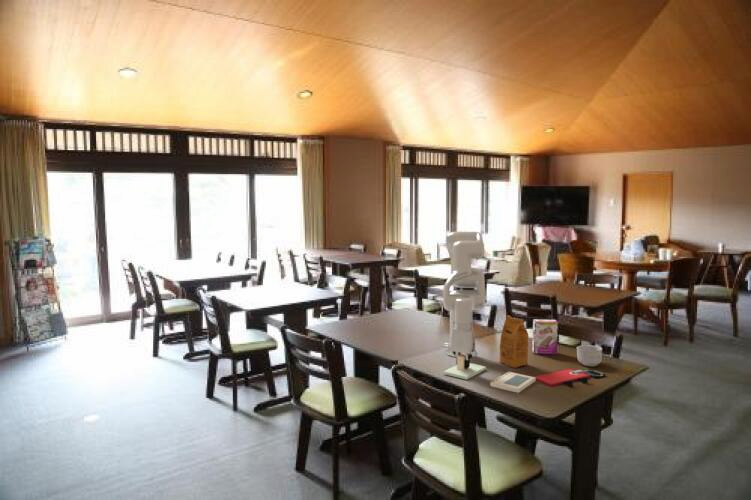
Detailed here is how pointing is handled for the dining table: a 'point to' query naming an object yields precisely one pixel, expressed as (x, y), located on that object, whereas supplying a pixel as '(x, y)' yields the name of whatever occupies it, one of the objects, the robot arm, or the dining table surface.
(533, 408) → the dining table surface
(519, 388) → the ticket board
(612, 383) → the dining table surface
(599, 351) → the teacup
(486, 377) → the dining table surface
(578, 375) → the red board with handle
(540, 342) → the candy bar box
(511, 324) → the coffee package
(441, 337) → the dining table surface
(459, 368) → the green board with block
